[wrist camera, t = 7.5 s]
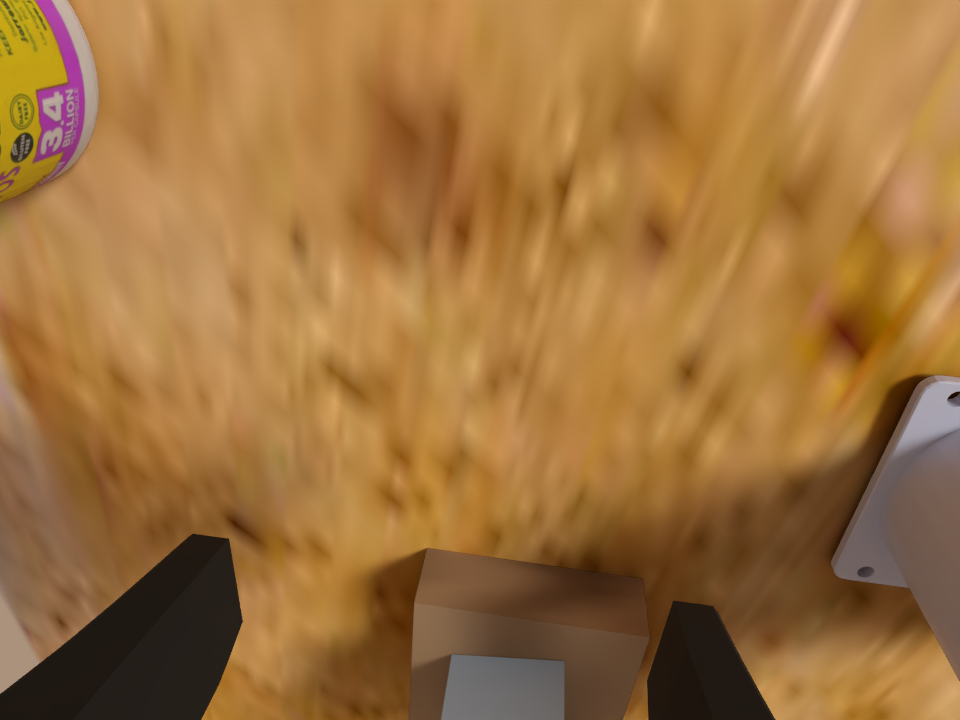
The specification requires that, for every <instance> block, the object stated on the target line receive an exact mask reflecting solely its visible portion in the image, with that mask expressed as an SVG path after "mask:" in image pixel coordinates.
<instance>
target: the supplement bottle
mask: <svg viewBox="0 0 960 720" xmlns="http://www.w3.org/2000/svg"><path fill="white" fill-rule="evenodd" d="M98 104H99V90H98V78H97V72H96V66H95V62H94V58H93V54H92V51H91V48H90V45H89V42H88V40H87V37H86V35H85V32H84V30H83V28H82V26H81V24H80V22H79V20H78V18H77V16H76V14H75V12H74V10H73V8H72V7H71V5H70V3H69V2H68V0H0V203H1V202H3V201H6V200H8V199H10V198H13V197H15V196H17V195H19V194H22V193H24V192H26V191H29V190H31V189H33V188H35V187H37V186H40V185H42V184H44V183H46V182H48V181H50V180H52V179H54V178H56V177H58V176H59V175H61V174H62V173H64V172H65V171H66V170H68V169H69V168H70V167H71V166H72V165H73V164H74V163H75V162H76V161H77V160H78V159H79V157H80V156H81V155H82V153H83V152H84V150H85V149H86V147H87V145H88V143H89V141H90V139H91V136H92V134H93V131H94V128H95V124H96V120H97V113H98Z"/></svg>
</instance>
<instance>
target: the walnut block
mask: <svg viewBox="0 0 960 720" xmlns="http://www.w3.org/2000/svg"><path fill="white" fill-rule="evenodd" d="M649 639H650V634H649V626H648V618H647V610H646V602H645V593H644V585H643V579H639V578H632V577H625V576H618V575H611V574H605V573H598V572H591V571H584V570H577V569H570V568H563V567H556V566H549V565H542V564H535V563H528V562H521V561H514V560H507V559H500V558H493V557H486V556H480V555H473V554H466V553H459V552H452V551H445V550H438V549H431V548H427V551H426V555H425V559H424V564H423V568H422V572H421V576H420V581H419V585H418V589H417V593H416V597H415V602H414V617H413V639H412V661H411V682H410V704H409V720H441V717H442V711H443V705H444V699H445V693H446V687H447V680H448V674H449V668H450V662H451V656H452V654H454V655H471V656H487V657H504V658H520V659H537V660H553V661H565V671H564V720H623V718H624V715H625V712H626V709H627V706H628V703H629V700H630V697H631V694H632V691H633V688H634V685H635V681H636V678H637V675H638V672H639V669H640V666H641V663H642V660H643V657H644V654H645V651H646V648H647V645H648V642H649Z"/></svg>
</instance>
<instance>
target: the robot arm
mask: <svg viewBox="0 0 960 720" xmlns="http://www.w3.org/2000/svg"><path fill="white" fill-rule="evenodd" d="M959 391H960V378H958V377H950V376H941V375H939V376H931V377H928V378H925V379H924V380H922V381H921V382H920V383H919V384H918V385H917V386H916V388H915V390H914V392H913V394H912V396H911V398H910V400H909V402H908V404H907V406H906V408H905V410H904V412H903V414H902V416H901V418H900V420H899V422H898V425H897V427H896V429H895V431H894V433H893V435H892V437H891V439H890V441H889V443H888V445H887V447H886V449H885V451H884V453H883V455H882V457H881V460H880V462H879V464H878V466H877V468H876V470H875V472H874V474H873V476H872V478H871V480H870V482H869V484H868V486H867V488H866V490H865V492H864V494H863V497H862V499H861V501H860V503H859V505H858V507H857V509H856V511H855V513H854V515H853V517H852V519H851V521H850V523H849V525H848V527H847V529H846V531H845V534H844V536H843V538H842V540H841V542H840V544H839V546H838V548H837V550H836V552H835V554H834V556H833V558H832V561H831V566H832V568H833V570H834V573H835V575H836V576H838V577H839V578H842V579H847V580H854V581H861V582H869V583H876V584H884V585H891V586H898V587H906V588H909V589H910V591H911V592H912V594H913V596H914V598H915V600H916V602H917V604H918V605H919V607H920V609H921V611H922V613H923V615H924V617H925V618H926V620H927V622H928V624H929V626H930V628H931V629H932V631H933V633H934V635H935V637H936V639H937V641H938V642H939V644H940V646H941V648H942V650H943V652H944V654H945V655H946V657H947V659H948V661H949V663H950V665H951V667H952V668H953V670H954V672H955V674H956V676H957V678H958V679H959V681H960V394H959V395H958V396H957V397H955V398H952V399H947V398H948V397H949V396H950V395H951V394H952V393H954V392H959ZM862 567H865V568H862ZM242 622H243V620H242V614H241V608H240V602H239V596H238V590H237V584H236V578H235V572H234V566H233V560H232V554H231V548H230V542H229V539H226V538H219V537H212V536H205V535H197V534H192V535H191V536H189V537H188V538H187V539H186V540H185V541H183V542H182V543H181V544H180V545H179V546H178V547H176V548H175V549H174V550H173V551H172V552H171V553H170V554H169V555H167V556H166V557H165V558H164V559H163V560H162V561H161V562H159V563H158V564H157V565H156V566H155V567H154V568H153V569H152V570H150V571H149V572H148V573H147V574H146V575H145V576H144V577H143V578H141V579H140V580H139V581H138V582H137V583H136V584H135V585H133V586H132V587H131V588H130V589H129V590H128V591H126V592H125V593H124V594H123V595H122V596H121V597H120V598H118V599H117V600H116V601H115V602H114V603H113V604H111V605H110V606H109V607H108V608H107V609H106V610H104V611H103V612H102V613H101V614H100V615H98V616H97V617H96V618H95V619H94V620H92V621H91V622H90V623H89V624H88V625H86V626H85V627H84V628H83V629H82V630H81V631H79V632H78V633H77V634H76V635H75V636H73V637H72V638H71V639H70V640H69V641H67V642H66V643H65V644H64V645H62V646H61V647H60V648H59V649H57V650H56V651H55V652H54V653H52V654H51V655H50V656H49V657H47V658H46V659H45V660H43V661H42V662H41V663H40V664H38V665H37V666H36V667H34V668H33V669H32V670H31V671H29V672H28V673H27V674H25V675H24V676H23V677H22V678H20V679H19V680H18V681H17V682H15V683H14V684H13V685H11V686H10V687H9V688H8V689H6V690H5V691H4V692H2V693H1V694H0V720H201V719H202V717H203V715H204V713H205V711H206V709H207V707H208V705H209V703H210V701H211V699H212V697H213V695H214V693H215V691H216V689H217V687H218V685H219V683H220V680H221V678H222V675H223V673H224V670H225V667H226V665H227V662H228V660H229V657H230V655H231V652H232V649H233V646H234V644H235V641H236V638H237V635H238V633H239V630H240V627H241V624H242ZM647 688H648V716H649V720H775V718H774V717H773V715H772V713H771V711H770V709H769V708H768V706H767V704H766V702H765V701H764V699H763V697H762V695H761V694H760V692H759V690H758V688H757V686H756V684H755V683H754V681H753V679H752V677H751V675H750V673H749V672H748V670H747V668H746V666H745V664H744V662H743V660H742V659H741V657H740V655H739V653H738V651H737V649H736V647H735V645H734V643H733V641H732V639H731V637H730V635H729V634H728V632H727V630H726V628H725V626H724V624H723V622H722V620H721V618H720V616H719V614H718V612H717V611H716V609H715V608H714V607H713V606H708V605H701V604H693V603H686V602H679V601H673V604H672V607H671V610H670V613H669V616H668V619H667V622H666V625H665V628H664V631H663V634H662V637H661V640H660V643H659V646H658V649H657V652H656V655H655V658H654V661H653V664H652V668H651V671H650V674H649V677H648V680H647Z"/></svg>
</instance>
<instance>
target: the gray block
mask: <svg viewBox="0 0 960 720" xmlns="http://www.w3.org/2000/svg"><path fill="white" fill-rule="evenodd" d="M564 671H565V661H553V660H537V659H520V658H504V657H487V656H471V655H454V654H452V656H451V662H450V668H449V674H448V680H447V687H446V693H445V699H444V705H443V711H442V717H441V720H564Z"/></svg>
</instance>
